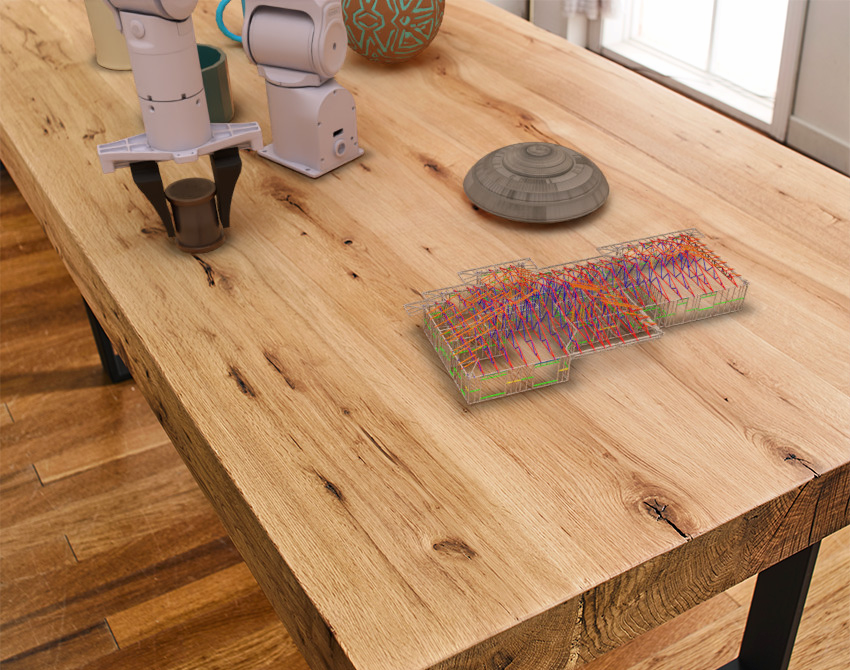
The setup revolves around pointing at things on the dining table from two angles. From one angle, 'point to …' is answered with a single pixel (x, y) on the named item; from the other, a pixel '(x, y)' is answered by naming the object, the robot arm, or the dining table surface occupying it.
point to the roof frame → (567, 305)
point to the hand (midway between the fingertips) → (197, 227)
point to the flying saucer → (536, 183)
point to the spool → (195, 215)
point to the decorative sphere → (391, 27)
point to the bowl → (216, 83)
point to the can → (107, 37)
